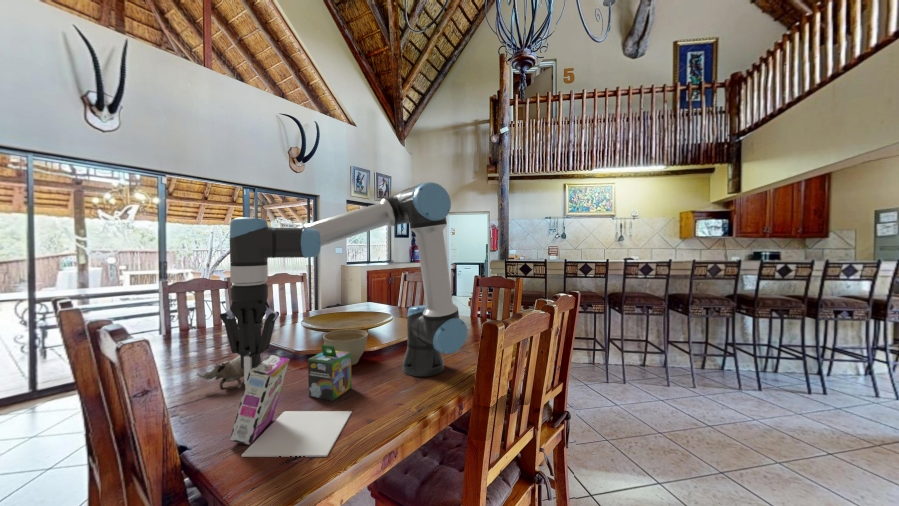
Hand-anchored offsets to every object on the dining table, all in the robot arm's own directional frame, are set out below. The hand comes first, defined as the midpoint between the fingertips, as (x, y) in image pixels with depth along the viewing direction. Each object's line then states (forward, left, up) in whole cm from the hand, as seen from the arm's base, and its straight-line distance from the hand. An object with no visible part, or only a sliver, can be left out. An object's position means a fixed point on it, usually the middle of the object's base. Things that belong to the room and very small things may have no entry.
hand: (250, 381), depth 77 cm
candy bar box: (0, 0, -12) cm, 12 cm away
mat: (-12, 0, -12) cm, 17 cm away
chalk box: (-11, -21, -12) cm, 27 cm away
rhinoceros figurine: (+21, -26, -12) cm, 36 cm away
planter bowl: (-8, -46, -12) cm, 48 cm away
